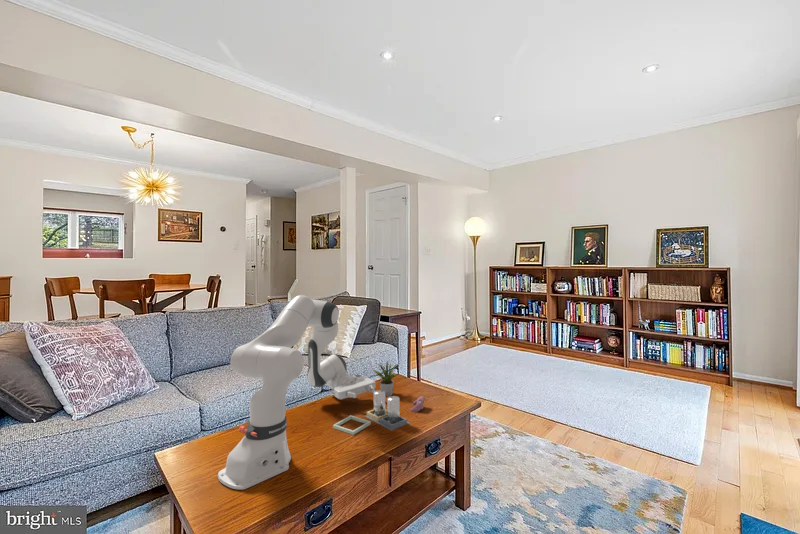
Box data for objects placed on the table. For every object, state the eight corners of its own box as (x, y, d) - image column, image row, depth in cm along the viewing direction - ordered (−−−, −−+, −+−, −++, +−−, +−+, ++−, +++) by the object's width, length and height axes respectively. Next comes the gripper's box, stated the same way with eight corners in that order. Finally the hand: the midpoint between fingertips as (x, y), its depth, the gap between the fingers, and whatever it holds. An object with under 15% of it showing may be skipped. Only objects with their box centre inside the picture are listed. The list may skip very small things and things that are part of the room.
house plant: (392, 386, 193) (392, 355, 192) (408, 394, 181) (407, 361, 181) (369, 392, 185) (368, 360, 184) (383, 401, 173) (383, 366, 173)
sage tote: (353, 438, 138) (353, 431, 138) (332, 430, 143) (332, 425, 143) (370, 427, 146) (370, 421, 146) (350, 420, 152) (350, 415, 152)
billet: (395, 426, 144) (394, 401, 144) (384, 423, 147) (384, 399, 146) (402, 421, 148) (401, 397, 148) (391, 419, 151) (391, 395, 151)
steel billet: (380, 419, 151) (380, 395, 150) (371, 416, 153) (370, 392, 153) (387, 415, 155) (387, 391, 155) (378, 412, 158) (378, 389, 157)
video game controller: (418, 418, 157) (425, 404, 157) (408, 413, 158) (415, 399, 157) (420, 409, 167) (427, 396, 166) (412, 404, 168) (418, 391, 167)
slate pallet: (410, 425, 147) (410, 419, 147) (391, 433, 141) (391, 426, 141) (382, 411, 161) (382, 405, 161) (363, 418, 154) (363, 412, 154)
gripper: (328, 383, 166) (344, 392, 155) (364, 374, 179) (382, 381, 169) (328, 397, 166) (345, 406, 155) (365, 386, 179) (382, 394, 169)
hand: (364, 393), depth 162 cm, fingers open, 8 cm apart
